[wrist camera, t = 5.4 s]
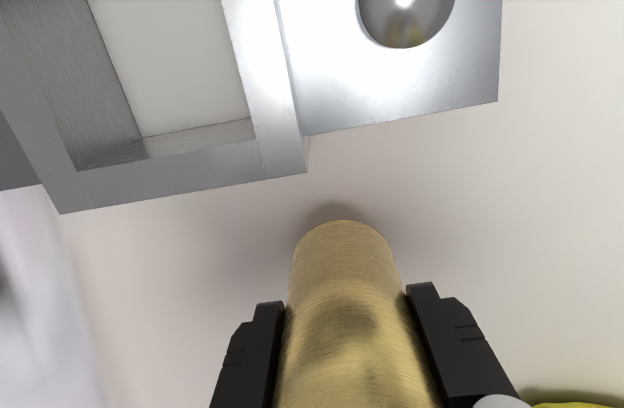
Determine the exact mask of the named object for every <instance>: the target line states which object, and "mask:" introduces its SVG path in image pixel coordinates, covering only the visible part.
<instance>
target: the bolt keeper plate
mask: <svg viewBox="0 0 624 408" xmlns="http://www.w3.org/2000/svg"><path fill="white" fill-rule="evenodd" d="M221 3H222V7H223V11H224V14H225V18H226V22H227V26H228V30H229V34H230V38H231V42H232V45H233V49H234V53H235V57H236V61H237V65H238V69H239V73H240V77H241V80H242V84H243V88H244V92H245V96H246V100H247V104H248V108H249V111H250V115H251V118H246V119H241V120H235V121H230V122H225V123H219V124H214V125H209V126H204V127H198V128H193V129H188V130H182V131H177V132H172V133H166V134H161V135H156V136H150V137H145V138H142V137H141V135H140V132H139V130H138V127H137V125H136V122H135V120H134V117H133V115H132V112H131V110H130V108H129V105H128V103H127V100H126V98H125V95H124V93H123V90H122V88H121V85H120V83H119V80H118V78H117V75H116V73H115V70H114V68H113V65H112V63H111V60H110V58H109V55H108V53H107V50H106V48H105V45H104V43H103V41H102V38H101V36H100V33H99V31H98V28H97V26H96V23H95V21H94V18H93V16H92V13H91V11H90V8H89V6H88V3H87V1H86V0H0V191H3V190H9V189H15V188H20V187H26V186H31V185H37V184H43V186H44V188H45V189H46V191H47V193H48V195H49V196H50V198H51V200H52V202H53V204H54V205H55V207H56V209H57V211H58V212H59V214H60V215H61V214H66V213H72V212H78V211H84V210H90V209H96V208H102V207H107V206H113V205H119V204H125V203H131V202H137V201H143V200H148V199H154V198H160V197H166V196H172V195H178V194H184V193H189V192H195V191H201V190H207V189H213V188H219V187H225V186H231V185H236V184H242V183H248V182H254V181H260V180H266V179H272V178H277V177H283V176H289V175H295V174H301V173H307V170H308V156H309V143H310V136H309V135H314V134H319V133H325V132H330V131H336V130H342V129H347V128H353V127H358V126H364V125H369V124H375V123H380V122H386V121H391V120H397V119H403V118H408V117H414V116H419V115H425V114H430V113H436V112H441V111H447V110H452V109H458V108H463V107H469V106H475V105H480V104H486V103H491V102H497V101H498V81H499V60H500V38H501V17H502V0H221Z"/></svg>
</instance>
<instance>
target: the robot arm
mask: <svg viewBox="0 0 624 408" xmlns="http://www.w3.org/2000/svg"><path fill="white" fill-rule="evenodd" d="M406 296H407V299H408V302H409V305H410V308H411V311H412V314H413V317H414V319H415V322H416V325H417V328H418V331H419V334H420V337H421V340H422V343H423V345H424V348H425V351H426V354H427V357H428V360H429V363H430V366H431V369H432V371H433V374H434V377H435V380H436V383H437V386H438V389H439V392H440V395H441V397H442V400H443V403H444V406H445V408H532V407H531V406H530V405H528V404H527V403H525V402H523V400H522V399H521V398H520V397H519V395H518V394H517V392H516V391H515V389H514V387H513V386H512V384H511V382H510V380H509V379H508V377H507V375H506V373H505V372H504V370H503V368H502V366H501V365H500V363H499V361H498V359H497V358H496V356H495V354H494V352H493V351H492V349H491V347H490V345H489V344H488V342H487V340H485V337H484V335H483V333H482V331H481V330H480V328H479V327H478V325H477V323H476V321H475V319H474V317H473V316H472V314H471V312H470V310H469V309H468V308H467V307H466V306H464V305H463V304H462V303H461V302H459V301H458V300H457V299H456V298H454V297H452V298H443V299H440V297H439V295H438V293H437V291H436V289H435V287H434V285H433V283H432V282H424V283H417V284H409V285H406ZM284 315H285V307H284V304H283V302H282V301H281V300H280V301H273V302H265V303H258V304H257V306H256V309H255V313H254V317H253V321H252V322H244V323H242V324H241V325H240V326H239V328H238V329H237V330H236V331H235V333H234V334H233V335H232V337H231V340H230V343H229V346H228V349H227V355H226V356H225V359H224V362H223V368H222V369H221V372H220V375H219V378H218V381H217V384H216V387H215V391H214V394H213V397H212V400H211V403H210V406H209V408H271V407H272V400H273V393H274V386H275V379H276V372H277V365H278V358H279V350H280V343H281V336H282V329H283V322H284Z"/></svg>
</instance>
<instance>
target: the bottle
mask: <svg viewBox="0 0 624 408" xmlns="http://www.w3.org/2000/svg"><path fill="white" fill-rule="evenodd" d="M532 408H613V407H608V406H602V405H597V404H590V403H582V402H569V403H541V404H538V405H534V406H532Z"/></svg>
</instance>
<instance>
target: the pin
mask: <svg viewBox="0 0 624 408" xmlns="http://www.w3.org/2000/svg"><path fill="white" fill-rule="evenodd" d="M271 408H445V406H444V403H443V400H442V397H441V395H440V392H439V389H438V386H437V383H436V380H435V377H434V374H433V371H432V369H431V366H430V363H429V360H428V357H427V354H426V351H425V348H424V345H423V343H422V340H421V337H420V334H419V331H418V328H417V325H416V322H415V319H414V317H413V314H412V311H411V308H410V305H409V302H408V299H407V296H406V293H405V291H404V288H403V285H402V282H401V279H400V276H399V273H398V270H397V267H396V265H395V262H394V259H393V256H392V253H391V250H390V247H389V245H388V243H387V241H386V240H385V239H384V237H383V236H382V235H381V234H380V233H379V232H378V231H376V230H375V229H374V228H372V227H370V226H369V225H366V224H364V223H361V222H358V221H353V220H333V221H328V222H325V223H322V224H320V225H318V226H316V227H314V228H312V229H311V230H309V231H308V232H307V233H306V234H305V235H304V236H303V237H302V238H301V239H300V240H299V242H298V243H297V245H296V247H295V250H294V253H293V258H292V265H291V272H290V279H289V286H288V293H287V301H286V308H285V315H284V322H283V329H282V336H281V343H280V350H279V358H278V365H277V372H276V379H275V386H274V393H273V400H272V407H271Z"/></svg>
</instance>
